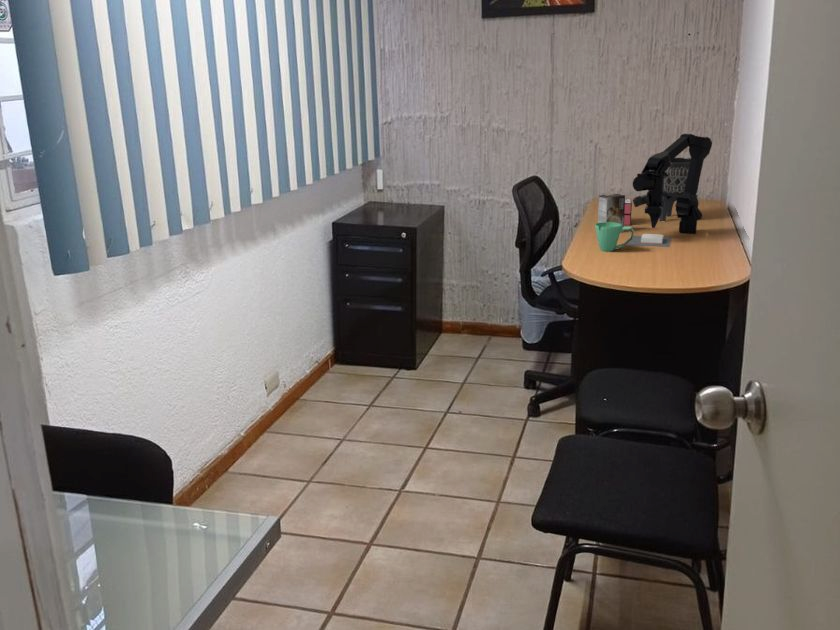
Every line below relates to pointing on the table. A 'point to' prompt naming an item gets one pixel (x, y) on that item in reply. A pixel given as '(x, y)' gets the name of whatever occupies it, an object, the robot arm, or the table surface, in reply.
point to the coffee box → (611, 208)
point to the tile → (652, 238)
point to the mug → (610, 235)
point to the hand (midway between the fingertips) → (653, 227)
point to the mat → (637, 242)
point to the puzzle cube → (627, 212)
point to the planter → (674, 184)
